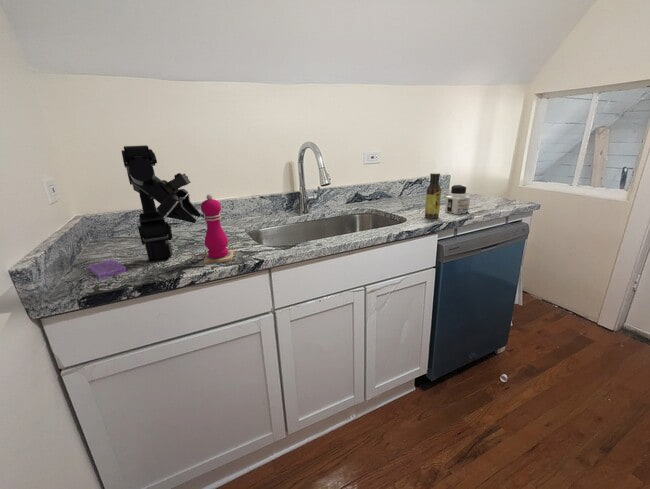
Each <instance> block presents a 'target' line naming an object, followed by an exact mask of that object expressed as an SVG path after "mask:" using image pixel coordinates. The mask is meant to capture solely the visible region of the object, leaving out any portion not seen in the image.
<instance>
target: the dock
mask: <svg viewBox="0 0 650 489" xmlns="http://www.w3.org/2000/svg"><path fill="white" fill-rule="evenodd" d="M233 256H234V249H231V250H228V255H226V256H224V257H221V258H210V257H209V256H208V252H206V254H205V257H204V259H203V264H214V263H223V262H232V260H233Z"/></svg>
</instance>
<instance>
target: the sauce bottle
mask: <svg viewBox="0 0 650 489" xmlns="http://www.w3.org/2000/svg"><path fill="white" fill-rule="evenodd" d="M429 176H430V182H429V184H428V186H427V188H426V194H425V195H426V196H425V207H424V217H425V218H428V219H436V218H439V214H440V208H441V196H442V188H441V186H440V177H441V173H439V172H431V173H430V175H429Z"/></svg>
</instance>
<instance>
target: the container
mask: <svg viewBox="0 0 650 489" xmlns="http://www.w3.org/2000/svg"><path fill="white" fill-rule="evenodd" d="M466 194H467V186H466V185H463V184H455V185H452V186H451V191H450V195H447V196H445V207H444V212H445V213H448V212H449V214H452V213H454V214H453V215H461V213H463V214H466V212H468V213H469V210H470V204H471V201H470V200H471V197H470V196H467V195H466Z"/></svg>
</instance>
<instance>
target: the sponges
mask: <svg viewBox="0 0 650 489" xmlns="http://www.w3.org/2000/svg"><path fill="white" fill-rule="evenodd" d="M87 267H88V270H89V271H91V273H93V274H94V275H95V276H96V277H98V278H99V279H104V278H108V277H112V276H114V275H119V274H122V273H125V272H127V268H126V266H124V265H122V264H121V263H120V262H118V261H117V260H116V259H114V258H111V259H108V260H104V261H100V262H98V263H93V264H92V263H91V264H88V265H87Z"/></svg>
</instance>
